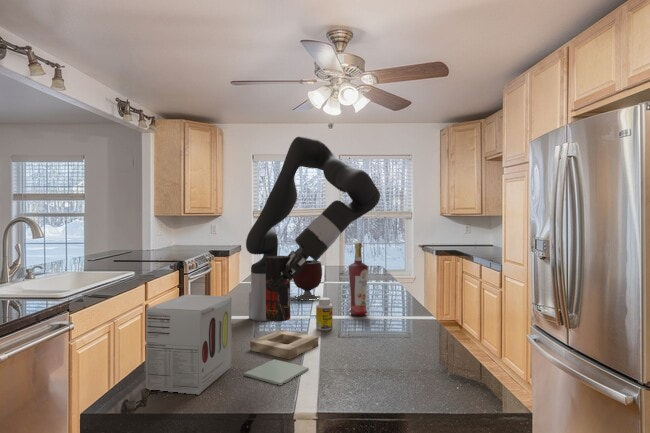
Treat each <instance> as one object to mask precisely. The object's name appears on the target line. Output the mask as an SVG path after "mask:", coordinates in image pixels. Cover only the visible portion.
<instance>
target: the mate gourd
mask: <svg viewBox="0 0 650 433" xmlns="http://www.w3.org/2000/svg"><path fill="white" fill-rule="evenodd" d="M306 261H307V262H308V263H307V265H306V266H305V267H304V268H303V269H302V270H301V271H300V272H299V273H297V274H296V275H295V276H294V277H293V279H292V280H293V283H294V285H295V286H296V288H299V289H301V290H303V291H304V292H303V295H302V294H299V295H300V296H298V297H296V296H297V295H294V297H295V298H297V299H303V300H309V299H317V298H321V295H319V294H317V295H318V296H315V295H316V294H313V295H312V292H311V291H313V290H314V289H316V288H317V287H319V286H320V284H321V282H322V278H323V268H322V261H320V260H314V259H312V260H310V259H307V260H306Z"/></svg>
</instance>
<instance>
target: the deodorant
mask: <svg viewBox="0 0 650 433" xmlns="http://www.w3.org/2000/svg"><path fill="white" fill-rule="evenodd" d="M289 259H290V256H288V255H277V256H267V257H265V268H266V320H267V322H268V321H269V322H275V323H278V322H280V323H281V322H286V321H289V320H290V319H291V280H289V281H286V282H285V283H284V284H283V285H282V286H281V287H280V288H279V289H278V290H277V291H276V292H274V291H273V290H272V289H271V288H270V287H269V285H270V284H271V283H272V282H273V280H274V279H275V278H276V277H277V276H278V275H280V272H281V271H282V270H283V269H284V268H285V264H286V263H287V261H288V260H289ZM288 272H289V271H288ZM289 273H290V272H289ZM280 276H281V275H280Z"/></svg>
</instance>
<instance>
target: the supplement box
mask: <svg viewBox="0 0 650 433" xmlns="http://www.w3.org/2000/svg"><path fill="white" fill-rule="evenodd" d="M232 299H233V298H232V296H230V295H229V296H226V295H224V296H223V295H208V294H206V295H205V294H203V295H202V294H183V295H180V296H178V297H174V298H172V299H169V300H165V301H163V302H161V303H157V304H155V305H152V306H149V307H147V308H146V307H145V308H146V311H145V389H146V388H148V389H155V390H160V391H159V392H163V391H168V392H167V393H173V392H178V393H177V394H184V393H186V394H185V395H195V394H196V396H197V395H201V393H203V392H204V391H205V389H207V388H208V387H209V386H211V385H212V384H214V382H216V380H217V379H219V378H220V377H221V376H223V375H224V374H225V373H226V372H227V371H228V370H230V368H232V314H233V313H232V312H233V311H232V310H233V309H232V308H233V307H232V305H233V304H232V303H233V302H232Z"/></svg>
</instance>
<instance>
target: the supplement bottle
mask: <svg viewBox="0 0 650 433" xmlns="http://www.w3.org/2000/svg"><path fill="white" fill-rule="evenodd" d="M317 301H318V303H317V304H316V306H315V309H316V310H315V320H316V321H315V328H316V329H317V330H318V331H330V330H332V329H333V304H332V303H331V298H330V297H320V298H319V299H318V300H317Z"/></svg>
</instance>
